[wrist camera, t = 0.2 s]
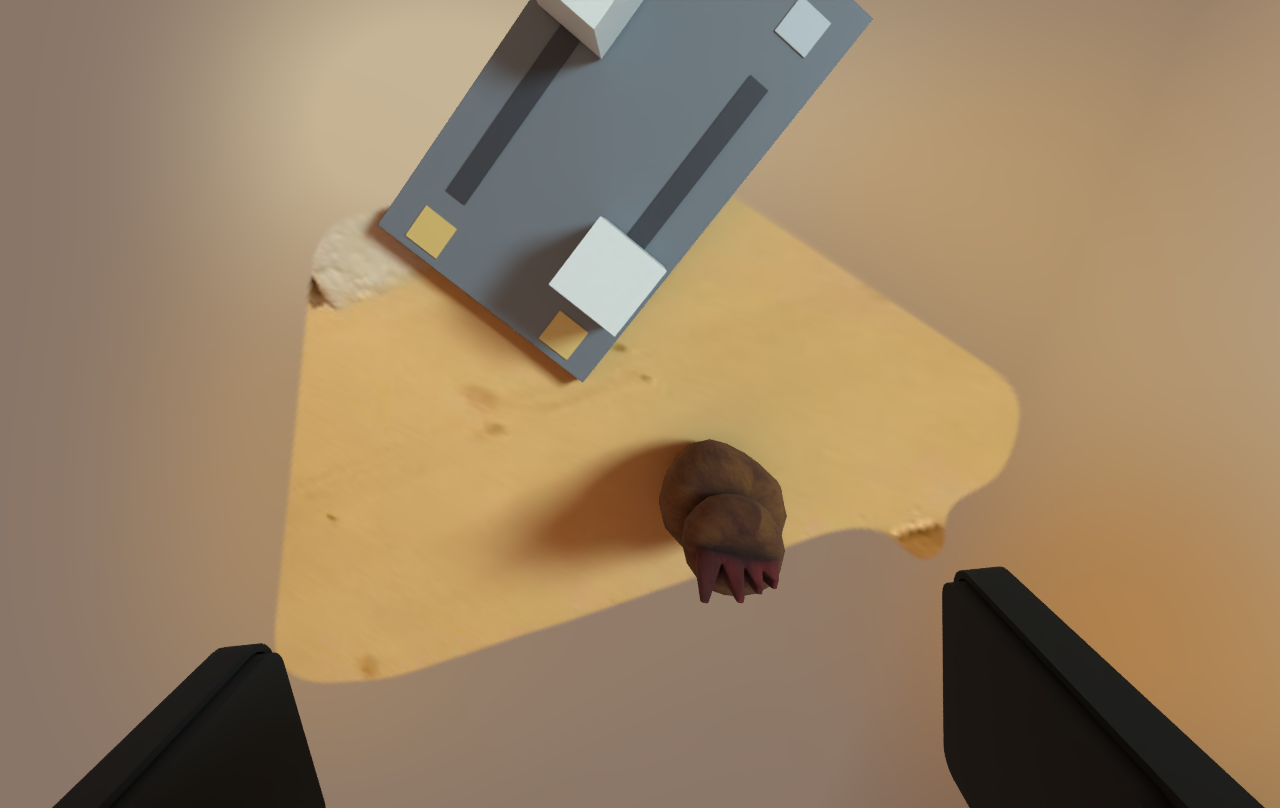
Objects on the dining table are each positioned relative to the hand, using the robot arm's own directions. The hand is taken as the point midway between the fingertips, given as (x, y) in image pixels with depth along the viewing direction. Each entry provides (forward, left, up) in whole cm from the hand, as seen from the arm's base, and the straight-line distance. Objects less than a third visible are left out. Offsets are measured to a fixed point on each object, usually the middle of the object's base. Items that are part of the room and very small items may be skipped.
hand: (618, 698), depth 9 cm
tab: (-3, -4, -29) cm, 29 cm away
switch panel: (-8, -8, -31) cm, 33 cm away
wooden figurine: (+4, +9, -31) cm, 32 cm away
